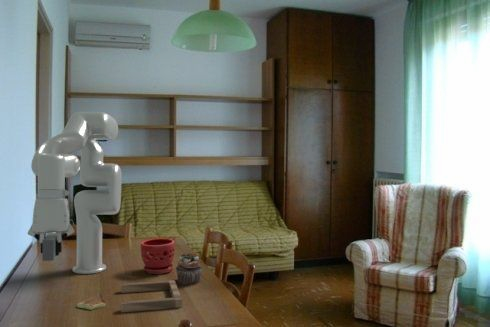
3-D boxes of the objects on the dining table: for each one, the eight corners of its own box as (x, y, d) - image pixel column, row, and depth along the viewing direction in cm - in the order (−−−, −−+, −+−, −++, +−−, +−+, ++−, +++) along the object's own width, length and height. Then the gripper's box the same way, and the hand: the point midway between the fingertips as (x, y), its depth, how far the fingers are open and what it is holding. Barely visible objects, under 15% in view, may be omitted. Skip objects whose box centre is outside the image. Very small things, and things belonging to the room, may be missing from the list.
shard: (100, 297, 144) (100, 292, 144) (119, 301, 141) (119, 295, 141) (76, 308, 134) (76, 302, 134) (96, 312, 131) (96, 306, 131)
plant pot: (156, 265, 183) (156, 236, 183) (181, 270, 176) (181, 240, 176) (133, 272, 172) (133, 242, 171) (159, 278, 165) (159, 246, 165)
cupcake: (207, 281, 162) (207, 254, 162) (187, 287, 155) (187, 258, 154) (190, 276, 168) (190, 250, 168) (170, 281, 161) (170, 254, 161)
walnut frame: (120, 291, 149) (120, 283, 149) (174, 287, 154) (174, 280, 154) (121, 312, 130) (121, 304, 130) (182, 307, 135) (182, 299, 135)
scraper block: (49, 252, 140) (49, 233, 140) (59, 251, 140) (59, 232, 140) (42, 260, 128) (42, 240, 128) (53, 260, 129) (53, 239, 129)
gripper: (81, 193, 140) (80, 251, 140) (24, 194, 135) (24, 253, 136) (78, 195, 133) (78, 256, 133) (19, 196, 128) (18, 259, 128)
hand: (51, 254), depth 134 cm, fingers closed on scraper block, 3 cm apart
